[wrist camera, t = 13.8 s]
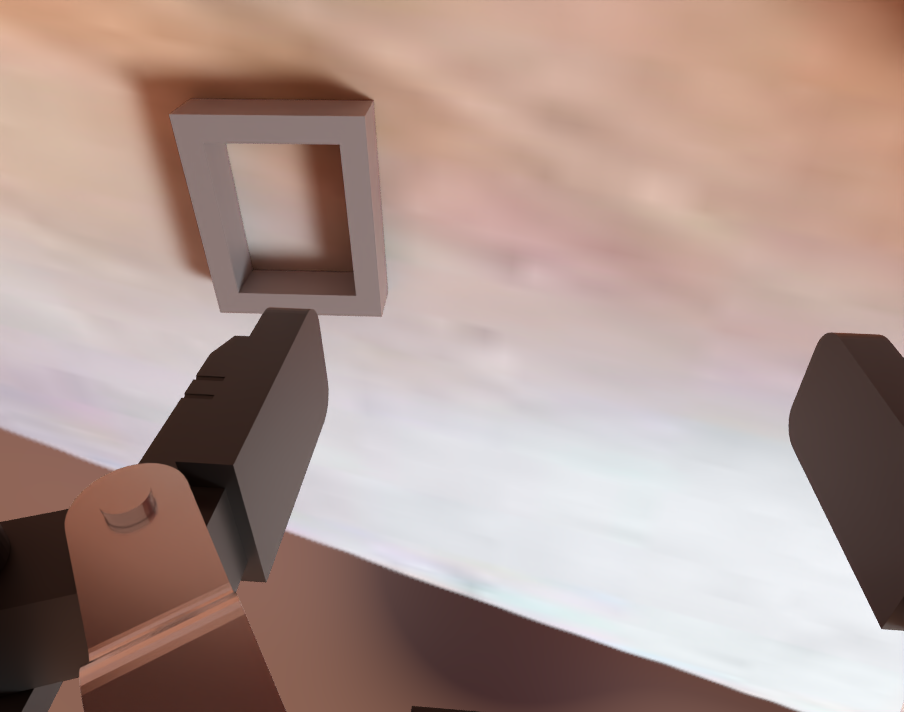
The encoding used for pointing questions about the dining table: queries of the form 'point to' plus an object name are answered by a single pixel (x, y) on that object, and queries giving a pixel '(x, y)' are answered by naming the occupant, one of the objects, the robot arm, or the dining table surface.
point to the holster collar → (218, 212)
